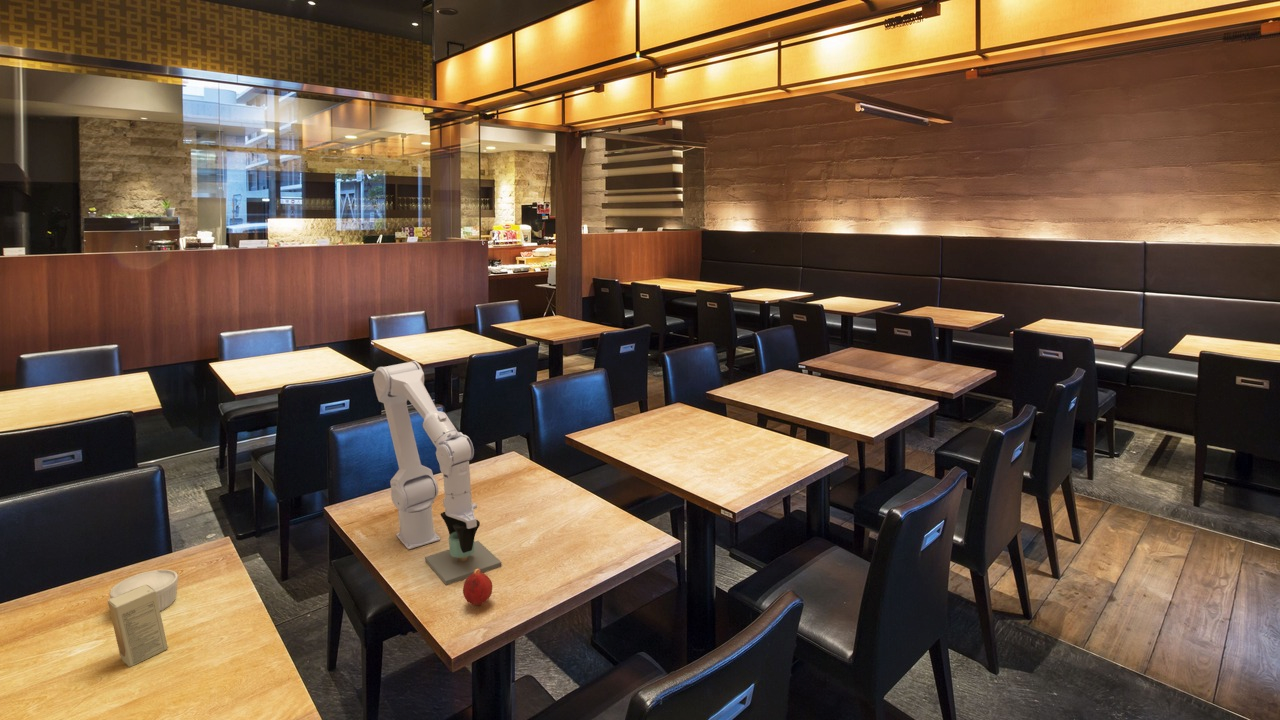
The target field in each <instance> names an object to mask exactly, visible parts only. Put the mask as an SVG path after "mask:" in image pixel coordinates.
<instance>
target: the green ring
mask: <svg viewBox="0 0 1280 720" xmlns="http://www.w3.org/2000/svg"><path fill="white" fill-rule="evenodd" d="M474 542H475V541H474ZM474 542H473V547H472V550H471V551H468V552H465V553H463V552H462V550H461V547H460V542H459V539H458V535H457V533H456V532H453V533H452V534H449V535H448V545H449V546H448V547H449V548H448V550H449V549H450V555H451V556H452V557H457V558H461V557H466V556H470V555H471V554H473V553H474V551H475V543H474Z"/></svg>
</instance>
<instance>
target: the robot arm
mask: <svg viewBox="0 0 1280 720" xmlns="http://www.w3.org/2000/svg"><path fill="white" fill-rule="evenodd" d="M372 381H373V385H374V390H375V394H376V397H377V400H378V402H379V403H382V404H383V406H384V411H385V415H386V420H387V423H388V426H389V432H390V436H391V439H392V440H391V441H392V443H393V449H394V452H395V453H394V454H395V457H396V461H397V465H398V470H397V471H396V473H395V474H394V475H393V477H392V478H390V479H391V480H389V482H390V489H391V490H390V497H391V501H392V503H393V505H394V507H395V508H397V509H398V511H397V513H398V525H399V532H397V533H396V534H395V536H396V537H397V538H398V539H399V541H400V542H401V543H402V544H403V545H404V547H406V549H407V550H412V549H414V548H418V547H423V546H424V545H427V544H431V543H434V542H438V541H440V540H441V537H440V536H439V535H438V534H437V533H436V532H435V529H434V517H433V506H432V505H433V504H435V499H437V497H438V495H439V483H438V482H437V479H435V476H434V474H433V470H432V469H431V468H429V467H427V466H425V465H422V462H421V459H420V455H419V452H418V446H417V442H416V438H415V433H414V430H413V429H414V428H413V425H412V420H411V417H410V413H409V409H408V403H407V402H408V401H409V402H410V404H411V405H412V406H413V408H414V409H415V410H416V411H417V413H418V414H419V415H420V417H421V418H422V419H423V422H422V428H423V429H424V431H425V433H426V434H427V436H428V437H429V439H430V440H431V442H432V444H433V445H434V447H435V448H436V451H435V455H436V459H437V461H438V463H439V470H440V473H441V474H442V475H443V490H444V498H443V500H442V502H443V507H444V511H443V512H441V513H440V517H441V518H442V519H443V521H444V523H445V525H446V529H447V530H448V534H449V535H450V534H452V533H453V532H456V533H457V535H458V538H459V542H460V547H461V550H462V552H463V553H465V552H468V551H471V550H472V547H473V542H475V537H476V533H477V531H478V529H479V527H480V526H481V522H480V521H479V520H478V519H477V517H476V516H475V511H474V510H476V509H477V508H478V504H477V503H475V502H473V501H472V487H471V486H472V484H471V470H470V461H471V460H472V459H473V458H474V455H475V449H474V448H475V447H474V445H473V442H472V440H471V439H470V437H469V436H468V435H466V434H463V432H461V431H458V430H457V428H456V427H455V425H454V424H453V422H452V421H451V420H450V418H449V417H448V415H447V414H446V412H445V411H440V410H438V409H437V406H436V405H435V403H434V401H433V400H432V397H431V396H430V393H429V392H428V390H427V388H426V386H425V373H424V371H423V368H422V366H421V365H420V363H419V362H418V361H416V360H411V361H409V362H408V361H407V362H403V363H398V364H392V365H388V366H378V367H377V368H376V369H375V372H374V375H373V377H372Z"/></svg>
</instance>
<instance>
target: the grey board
mask: <svg viewBox="0 0 1280 720" xmlns="http://www.w3.org/2000/svg"><path fill="white" fill-rule="evenodd" d="M474 543H475V551H474V553H473V554H471V555H470V556H468V560H467V561H465V562H459V561H458V558H457V557H452V556H451V555H450V549H449V548H448V549H447V550H443V551H440V552H438V553H433V554H431V555H428V556H425V557H424V561H425V563H426V564H427V565H428V566H429V568H431V570H432V571H433V572H434V573H435V575H436V576H438V578H439V579H440V580H441V582H443V584H444V585H445V586H448V585H450V584H454V583H457V582H459V581H462V580H466V579H467V578H468V577H469V576H470V575H472V574H473V573H474V571H475V569H480V570H481V571H480V573H483V574H484V573H486V572H490V571H491V570H494V569H497V568H500V567H503V565H502V561H501V560H500V559H499V558H498V557H496V556H495V555H494V554H493V553H492V552H491V550H489V549H488V548H487V547H486V546H485V545H483V544H482V543H481V542H480V540H474Z"/></svg>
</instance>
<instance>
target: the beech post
mask: <svg viewBox="0 0 1280 720" xmlns="http://www.w3.org/2000/svg"><path fill="white" fill-rule="evenodd" d="M458 539H459V538H458ZM467 560H468V556H466V557H461V558H458V561H459V562H465V561H467Z"/></svg>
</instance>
